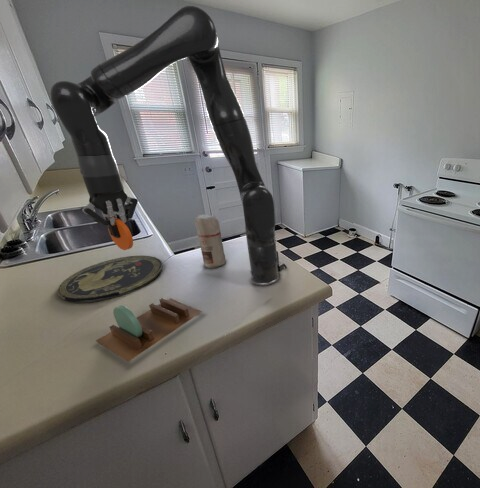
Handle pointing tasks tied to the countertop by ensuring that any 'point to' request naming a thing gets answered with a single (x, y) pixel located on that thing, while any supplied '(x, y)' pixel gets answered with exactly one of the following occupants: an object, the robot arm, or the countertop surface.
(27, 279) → the countertop surface
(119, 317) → the green disc
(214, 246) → the spray can
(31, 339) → the countertop surface
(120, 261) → the decorative plate
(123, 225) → the orange disc
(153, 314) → the rack
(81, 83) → the robot arm
